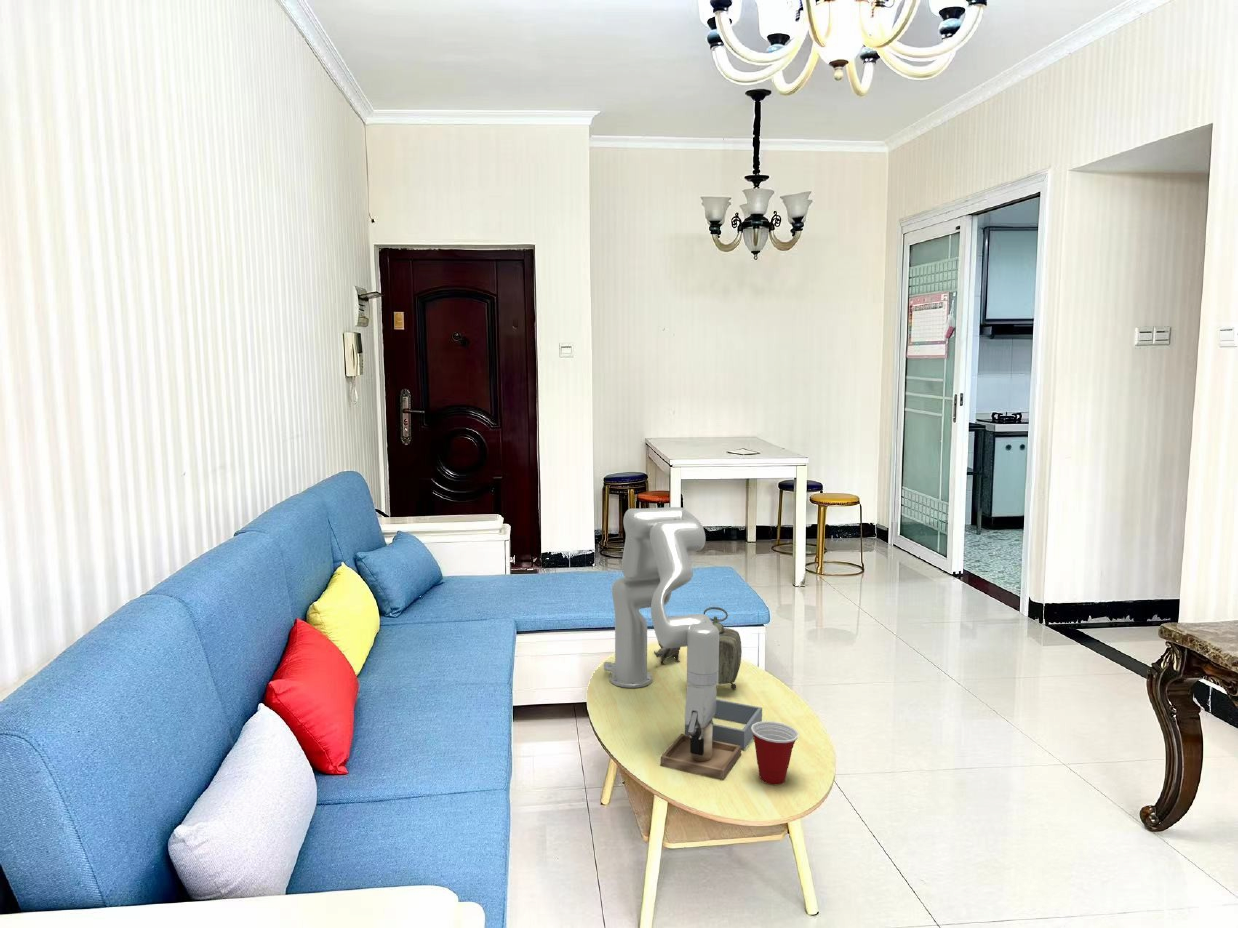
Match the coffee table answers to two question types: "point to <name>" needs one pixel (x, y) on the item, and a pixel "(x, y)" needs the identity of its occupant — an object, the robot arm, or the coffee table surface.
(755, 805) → the coffee table surface
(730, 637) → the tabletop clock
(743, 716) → the grey square frame
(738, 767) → the coffee table surface
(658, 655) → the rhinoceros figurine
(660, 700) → the coffee table surface
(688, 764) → the tray
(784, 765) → the plastic cup
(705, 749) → the beige grooved cylinder
